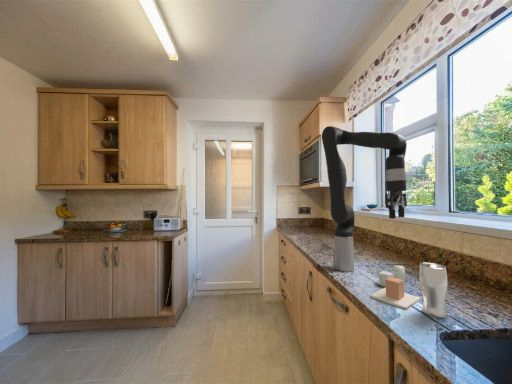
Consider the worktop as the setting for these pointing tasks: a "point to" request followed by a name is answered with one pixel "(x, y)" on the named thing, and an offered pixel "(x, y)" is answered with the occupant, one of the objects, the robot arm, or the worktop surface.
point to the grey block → (384, 277)
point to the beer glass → (433, 289)
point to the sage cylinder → (399, 272)
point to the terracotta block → (394, 288)
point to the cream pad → (402, 303)
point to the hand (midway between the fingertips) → (397, 217)
